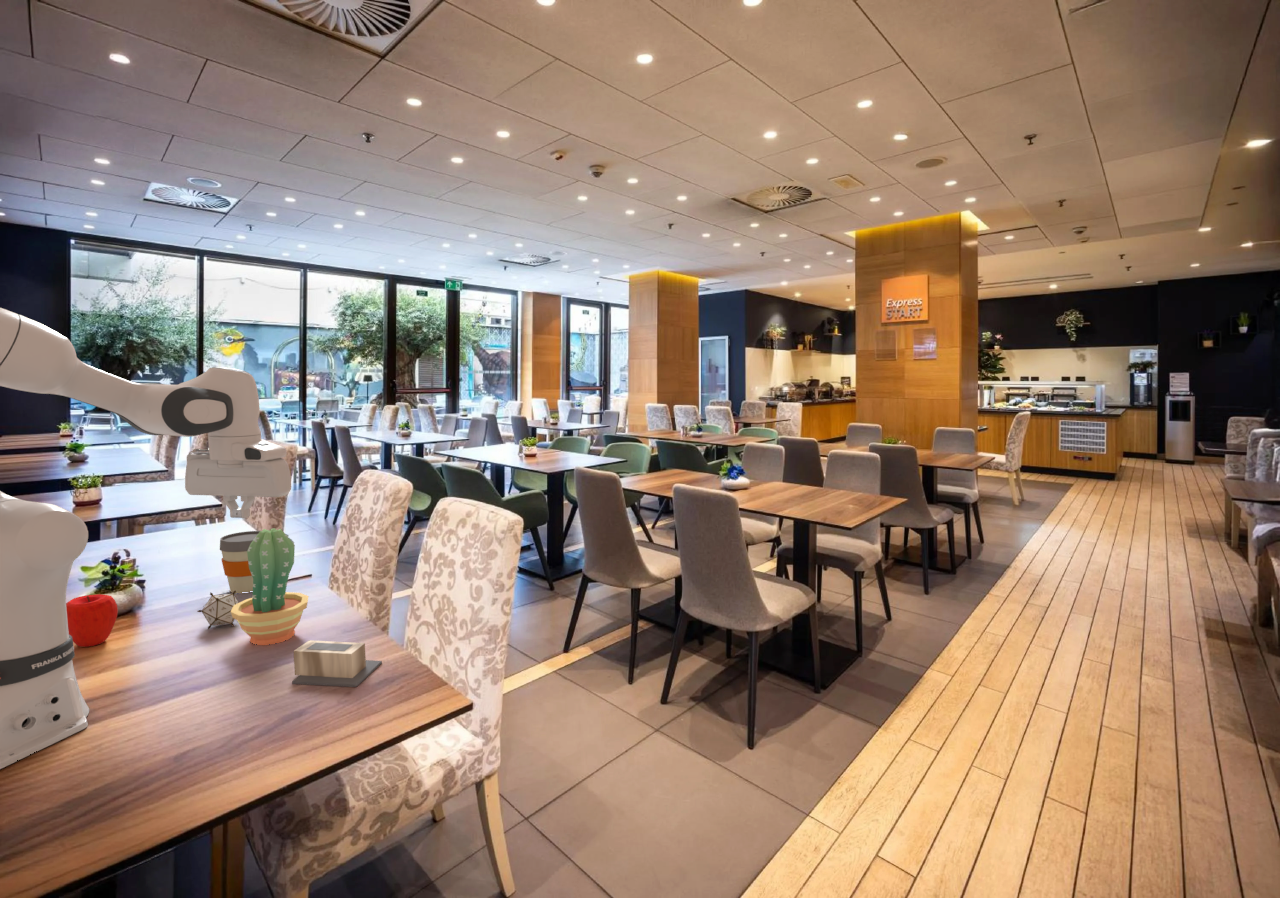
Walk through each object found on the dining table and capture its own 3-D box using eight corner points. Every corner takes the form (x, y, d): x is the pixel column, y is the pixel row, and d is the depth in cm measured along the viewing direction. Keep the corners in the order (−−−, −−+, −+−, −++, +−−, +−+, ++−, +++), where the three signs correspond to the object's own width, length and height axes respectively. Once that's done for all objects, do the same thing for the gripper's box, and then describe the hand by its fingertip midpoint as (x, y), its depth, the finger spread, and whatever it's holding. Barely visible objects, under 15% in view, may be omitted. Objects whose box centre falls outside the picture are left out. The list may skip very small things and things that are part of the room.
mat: (356, 687, 118) (356, 684, 118) (292, 683, 119) (292, 681, 118) (381, 663, 128) (381, 660, 127) (322, 660, 128) (322, 658, 128)
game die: (225, 643, 145) (214, 620, 138) (196, 627, 146) (184, 604, 139) (256, 613, 151) (247, 591, 145) (228, 599, 152) (218, 576, 146)
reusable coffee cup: (231, 582, 175) (228, 532, 174) (280, 579, 179) (277, 529, 177) (215, 597, 164) (211, 543, 162) (268, 593, 167) (265, 540, 166)
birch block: (294, 674, 121) (352, 678, 120) (293, 650, 120) (351, 653, 119) (310, 663, 126) (365, 666, 125) (309, 640, 125) (364, 642, 124)
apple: (126, 632, 141) (122, 587, 140) (107, 648, 133) (102, 601, 131) (79, 637, 138) (75, 591, 137) (56, 654, 130) (51, 605, 129)
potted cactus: (326, 629, 144) (321, 526, 142) (267, 656, 130) (261, 542, 127) (277, 620, 149) (271, 520, 147) (215, 645, 135) (208, 535, 132)
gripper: (173, 450, 119) (178, 519, 121) (273, 452, 118) (277, 522, 119) (199, 446, 125) (203, 512, 127) (294, 448, 124) (297, 515, 125)
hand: (240, 517), depth 123 cm, fingers closed
